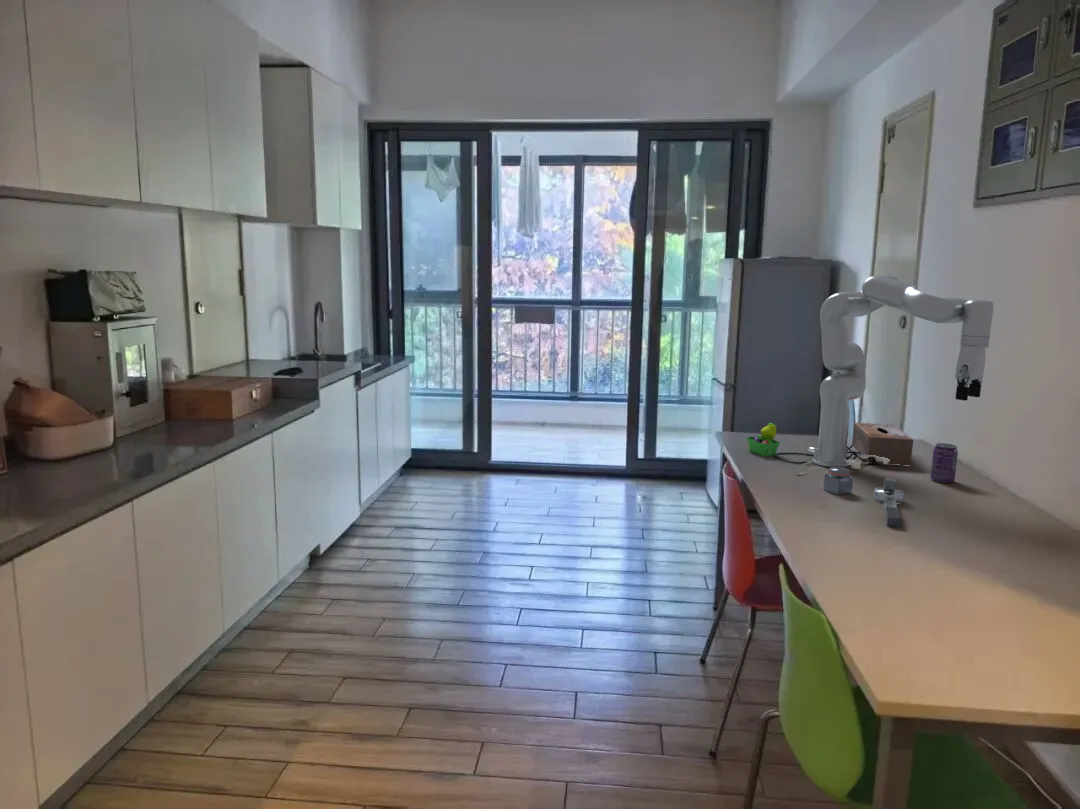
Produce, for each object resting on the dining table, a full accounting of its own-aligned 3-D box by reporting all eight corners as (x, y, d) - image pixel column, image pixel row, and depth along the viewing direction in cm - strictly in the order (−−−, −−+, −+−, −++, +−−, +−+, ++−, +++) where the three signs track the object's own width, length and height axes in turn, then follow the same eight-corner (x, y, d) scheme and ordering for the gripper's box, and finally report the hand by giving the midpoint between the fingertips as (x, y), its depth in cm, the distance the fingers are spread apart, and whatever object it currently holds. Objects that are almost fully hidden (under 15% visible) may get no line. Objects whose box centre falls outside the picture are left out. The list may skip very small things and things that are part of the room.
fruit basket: (744, 450, 290) (746, 420, 288) (765, 448, 293) (767, 419, 290) (761, 457, 279) (764, 427, 277) (782, 456, 282) (785, 426, 280)
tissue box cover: (910, 467, 271) (913, 439, 269) (866, 464, 273) (869, 437, 272) (891, 450, 296) (894, 424, 294) (851, 447, 298) (854, 422, 296)
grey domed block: (837, 494, 235) (839, 472, 234) (823, 489, 240) (825, 467, 239) (851, 492, 237) (854, 470, 236) (837, 487, 243) (839, 466, 241)
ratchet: (909, 529, 205) (912, 505, 204) (877, 525, 208) (879, 502, 207) (901, 498, 233) (903, 477, 232) (872, 495, 236) (875, 474, 235)
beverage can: (948, 478, 256) (953, 443, 254) (958, 484, 249) (962, 448, 247) (926, 477, 257) (930, 442, 255) (935, 483, 250) (939, 447, 248)
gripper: (972, 339, 238) (965, 393, 241) (949, 342, 227) (943, 399, 230) (998, 341, 233) (991, 397, 236) (977, 344, 221) (969, 403, 225)
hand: (967, 398), depth 233 cm, fingers open, 9 cm apart
